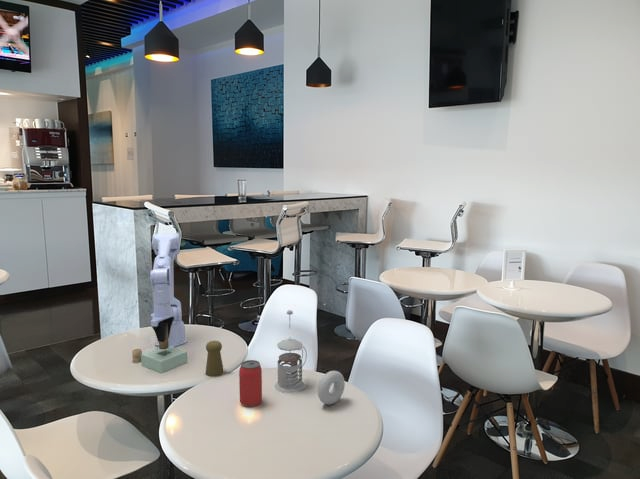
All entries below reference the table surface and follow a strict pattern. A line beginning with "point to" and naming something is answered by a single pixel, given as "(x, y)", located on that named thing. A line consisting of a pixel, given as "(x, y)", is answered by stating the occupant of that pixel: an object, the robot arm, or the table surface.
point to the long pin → (164, 344)
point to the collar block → (164, 359)
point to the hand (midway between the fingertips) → (163, 339)
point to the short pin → (136, 355)
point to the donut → (336, 390)
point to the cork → (214, 359)
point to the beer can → (250, 383)
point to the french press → (285, 380)
